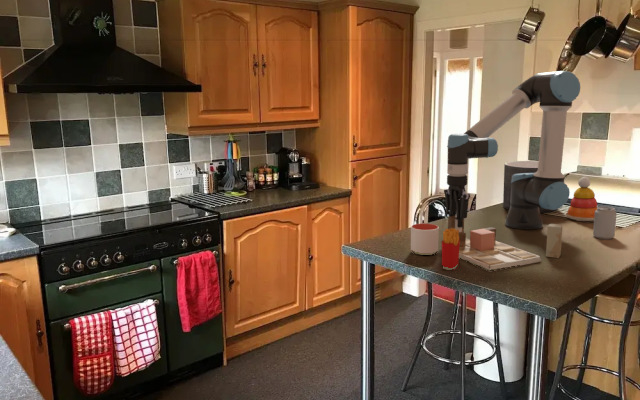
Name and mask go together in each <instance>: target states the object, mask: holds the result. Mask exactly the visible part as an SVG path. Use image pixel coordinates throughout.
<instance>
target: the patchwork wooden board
mask: <svg viewBox="0 0 640 400" xmlns="http://www.w3.org/2000/svg"><path fill="white" fill-rule="evenodd" d="M482 229H486V230H489V231H492V232H495V239H494V249H497V250H500V251H503V252H508V251H514V248H513V247H514V246H512V247H510V246H511V245H509V246H507V245H508V244H506V245H504V244H505V243H504V244H502V243H503V242H501V243H499V242H500V241H498V242H496V241H497V239H496V236H497V235H496V234H497V228H496V227H483V228H482ZM466 236H467V233H466V232H465V231H464V232H459V239H460V245H459V253H461V254H464V255H469V254H475V253H476V250H473V249H471V248H468V247H466V238H467V237H466ZM524 251H525V250H524ZM524 251H518V252H512V253H509V254H511V255H513V256H516V257H519V258H521V259H527V258H533V257H535V255H536V254H535V255H533V254H534V253H532V254H530V253H531V252H529V253H527V252H528V251H526V252H524ZM472 258H473V259H475V260H478V261H480V262H483V263H485V264H487V265H496V264H501V263H503V261H501V260H499V259H496V258H494V257H491V256H489V255H486V254H485V255H479V256H474V257H472Z"/></svg>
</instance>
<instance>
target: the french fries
mask: <svg viewBox="0 0 640 400" xmlns="http://www.w3.org/2000/svg"><path fill="white" fill-rule="evenodd" d="M450 229H451V230H450ZM450 229H448V228H446V229H444V231H442V232H443V234H442V235H443V237H442V240H441V266H442V265H443V266H444V267H448V268H453V267H455V266H456V265H457V264H458V265H459V263H460V261H459V260H460V258H459V245H460V239H459V230H458V229H457V230H456V229H455V228H453V229H452V228H450Z"/></svg>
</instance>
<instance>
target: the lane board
mask: <svg viewBox="0 0 640 400" xmlns="http://www.w3.org/2000/svg"><path fill="white" fill-rule="evenodd" d="M496 242H499V243H502V244H504V245H507V246H510V247H513V248H514V251H508V252H503V251H500V250H499V253H496V254H490V255H489V256H491V257H494V258H496V259H499V260H501V261H503V263H501V264H496V265H487V264H485V263H483V262H480V261H478V260H475V259H473V258H472V257H474V256H479V255H485V253H482V252H480V251H477V250H476V253H475V254H469V255H464V254H461V253H459V255H460V256H462V257H464V258H466V259H468V260H471V261H473V262H475V263H476V264H478V265H481V266H483V267H485V268H487V269H489V270H491V269H497V268H503V267H510V268H512V267H511V266H515V267H518V266H517V265H520V266H525V265H530V264H535V263H540V262H541V261H542V259H541V258H542V257H541V255H537V254H535V253H532V252H529V251H526V250H524V249H520V248H518V247H514V246H512V245H510V244H507V243H503V242H501V241H497V240H496ZM466 247H467V246H466ZM468 248H470V247H468ZM471 249H472V248H471ZM473 250H475V249H473ZM518 251H524V252H527V253H530V254H533V255H535V257H533V258H527V259H521V258H519V257H516V256H513V255H511V254H509V253H512V252H518ZM486 255H487V254H486Z"/></svg>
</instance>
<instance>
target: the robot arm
mask: <svg viewBox="0 0 640 400" xmlns="http://www.w3.org/2000/svg"><path fill="white" fill-rule="evenodd" d="M580 92H581V82H580V79H579V78H578V77H577V76H576V74H574V73H573V72H571V71H567V70H566V71H565V70H555V71H547V72H539V73H536V74H534V75H532V76H531V77H529V78H527V79H526V80H524V81H523V82H522V83H520V84H519V85H518V86H517V87H516V88H514V89H513V90H512V93H511V95H510V96H508V97H506V99H504V100H503V101H502V102H501V103H500V104H498V105H497V106H496V107H494V109H492V110H491V111H490V112H489V113H487V114H486V115H485V116H484V117H482V118H481V119H480V120H479V121H477V123H475V124H474V125H473V126H472V127H470V128H469V129H467V130H466V131H465V132H464V133H451V134H449V136H448V139H447V145H446V147H447V169H446V170H447V171H446V172H447V174H448V175H446V184H447V185H448V188H446V189H444V190H443V192H444V198H445V199H444V200H445V213H446V214H445V215H448V217H449V216H456V215H457V218H455V229H456V230H457V229H458V230H459V232H462V226H463V219H464V220H465V219H467V218H468V210H469V204H470V203H469V201H470V198H471V194H470V193H467V192H466V186H467V185H468V168H469V167H468V166H469V160H470V159H484V158H485V159H488V158H493V157H495V156H496V155H497V154H498V151H499V144H498V141H497V140H496V139H495V138H494V137H490V136H492V135H493V134H494V133H496V131H498V130H499V129H500V128H502V127H503V126H504V125H505V124H506V123H507V122H510V120H511V119H513V118H514V117H516V116H517V114H519V113H520V112H521V111H522V110H524V109H529V108H531V106H533V105H535V104H538V103H539V108H540V109H541V111H542V119H541V121H542V122H541V131H540V141H539V152H538V161H539V162H538V171H537V172H536V173H520V174H514V175H513V176H512V180H511V200H510V209H509V210H508V212H507V215H506V217H505V220H504V225H505V226H507V227H509V228H513V229H518V230H538V229H542V227H543V219H542V217H541V213H540V211H539V207H542V208H544V209H550V210H555V211H557V210H559V209H560V208H562V207H563V206H564V205H565V204H566V203H567V202H568V200H569V197H570V193H571V192H570V188H569V187H568V185H567V184H566V183H565V175H564V173H563V172H562V166H563V165H562V164H563V156H564V155H563V154H564V143H565V132H566V124H567V114H568V111H569V110H570V109H571V108H572V107H573V101H575V100H576V99H577V97H579V95H580ZM556 209H557V210H556Z"/></svg>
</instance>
